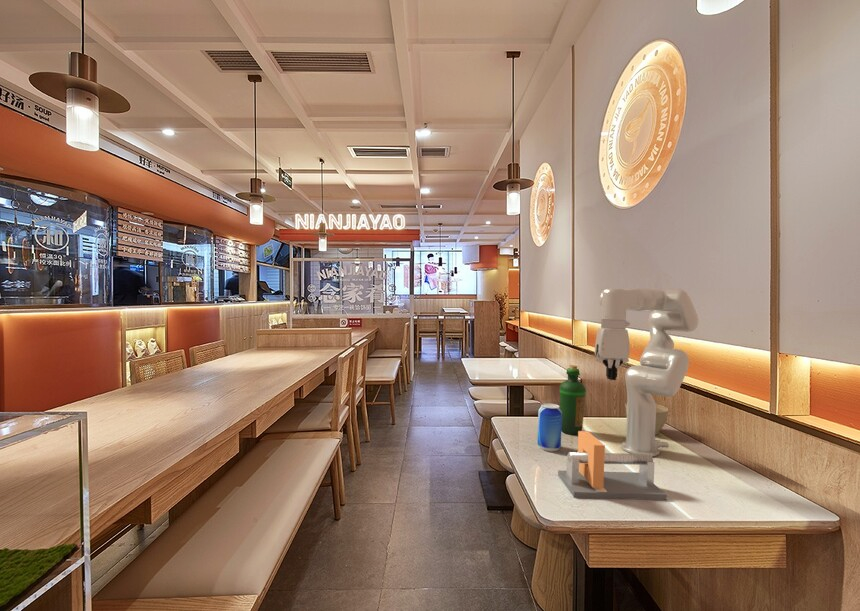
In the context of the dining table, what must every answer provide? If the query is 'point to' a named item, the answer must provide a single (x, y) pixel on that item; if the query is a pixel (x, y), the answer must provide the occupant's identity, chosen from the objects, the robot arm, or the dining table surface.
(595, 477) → the collar
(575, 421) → the bottle
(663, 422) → the planter bowl
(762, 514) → the dining table surface
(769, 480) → the dining table surface
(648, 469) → the pipe
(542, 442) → the beer can
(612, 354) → the robot arm
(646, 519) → the dining table surface
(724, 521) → the dining table surface
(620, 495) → the base board
